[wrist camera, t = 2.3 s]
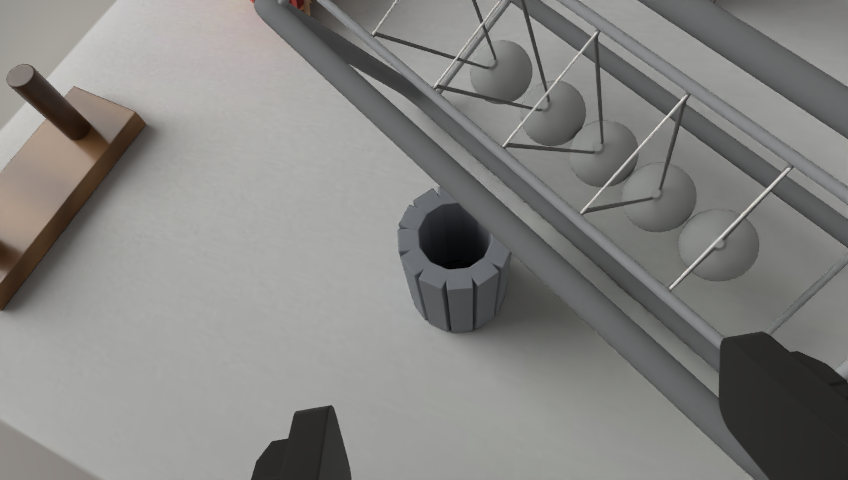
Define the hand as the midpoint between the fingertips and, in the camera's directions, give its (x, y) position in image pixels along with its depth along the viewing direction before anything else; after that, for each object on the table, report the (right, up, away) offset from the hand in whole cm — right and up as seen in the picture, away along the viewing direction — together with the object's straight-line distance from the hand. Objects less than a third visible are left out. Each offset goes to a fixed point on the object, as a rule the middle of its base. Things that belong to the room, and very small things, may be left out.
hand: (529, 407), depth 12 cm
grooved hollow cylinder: (0, 0, +25) cm, 25 cm away
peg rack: (-29, +7, +30) cm, 42 cm away
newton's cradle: (+10, +8, +25) cm, 28 cm away
